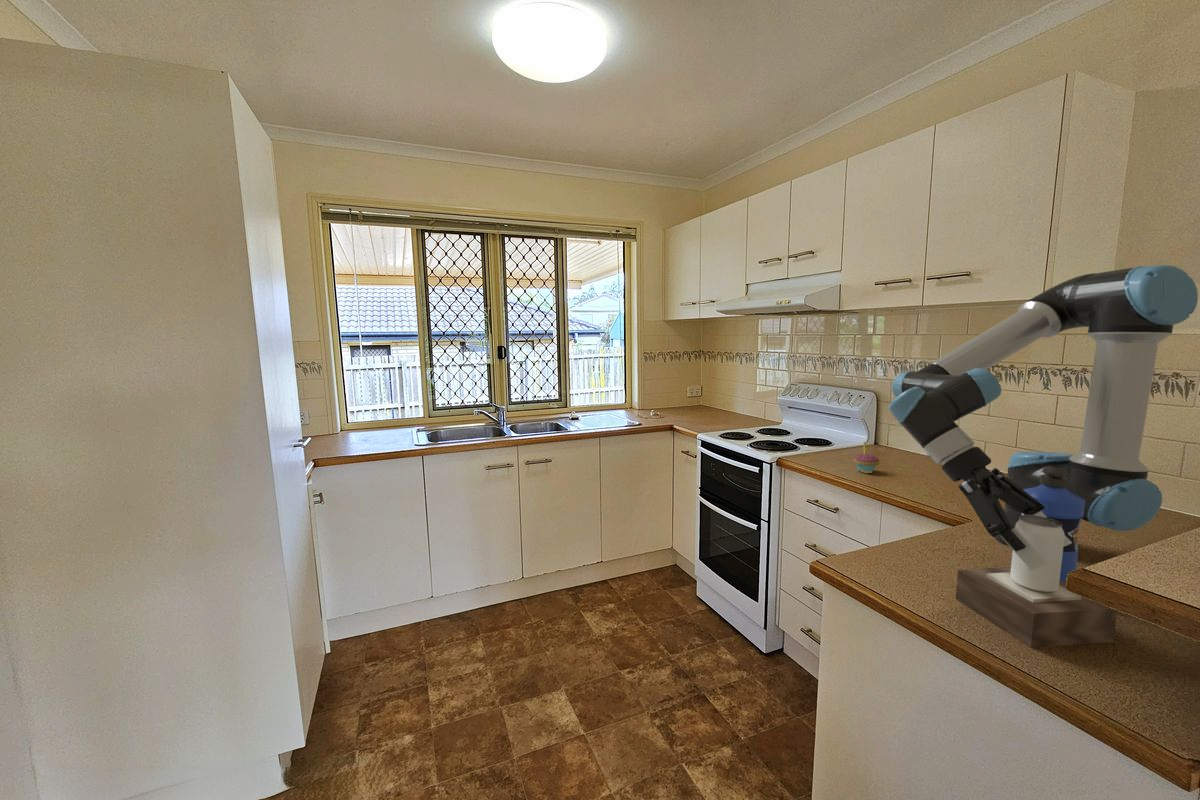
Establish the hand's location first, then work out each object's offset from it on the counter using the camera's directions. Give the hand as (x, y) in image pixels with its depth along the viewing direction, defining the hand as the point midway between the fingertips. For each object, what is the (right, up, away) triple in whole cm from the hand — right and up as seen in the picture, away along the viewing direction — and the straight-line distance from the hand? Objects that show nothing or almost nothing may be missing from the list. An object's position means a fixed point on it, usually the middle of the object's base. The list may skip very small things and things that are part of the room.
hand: (1052, 556), depth 82 cm
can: (-1, -6, +3) cm, 7 cm away
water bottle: (+13, -11, +16) cm, 23 cm away
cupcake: (+23, -1, +99) cm, 102 cm away
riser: (-1, -13, +3) cm, 13 cm away
